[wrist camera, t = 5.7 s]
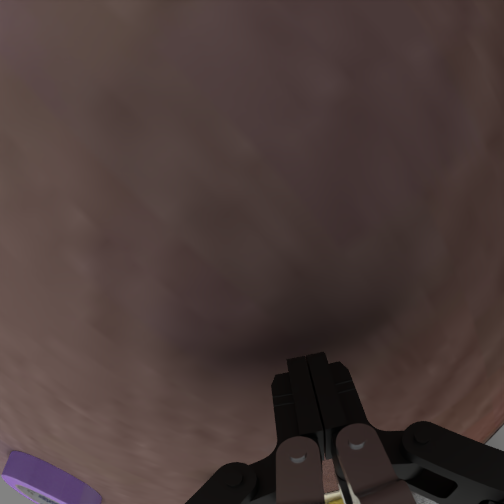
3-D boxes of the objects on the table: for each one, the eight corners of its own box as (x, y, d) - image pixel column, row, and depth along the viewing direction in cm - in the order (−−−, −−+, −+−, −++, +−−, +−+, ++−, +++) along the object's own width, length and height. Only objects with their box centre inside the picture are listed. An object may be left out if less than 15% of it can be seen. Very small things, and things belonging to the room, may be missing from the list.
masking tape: (122, 504, 23) (117, 530, 20) (60, 494, 24) (54, 515, 21) (49, 453, 19) (37, 484, 15) (-4, 444, 20) (-15, 467, 16)
